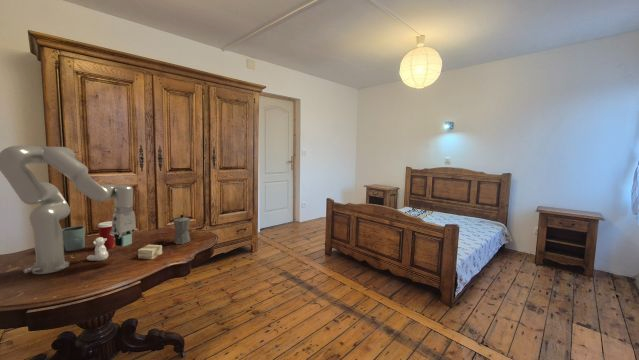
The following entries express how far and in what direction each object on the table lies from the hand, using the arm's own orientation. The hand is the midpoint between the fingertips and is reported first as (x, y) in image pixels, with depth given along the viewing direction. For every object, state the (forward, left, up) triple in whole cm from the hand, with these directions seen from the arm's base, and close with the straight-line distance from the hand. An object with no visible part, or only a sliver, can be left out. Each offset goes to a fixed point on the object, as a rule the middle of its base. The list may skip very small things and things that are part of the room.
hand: (123, 243), depth 137 cm
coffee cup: (+15, +26, -10) cm, 31 cm away
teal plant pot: (+10, +43, -10) cm, 45 cm away
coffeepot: (+34, -9, -10) cm, 36 cm away
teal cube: (0, 0, -1) cm, 1 cm away
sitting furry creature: (+1, +15, -10) cm, 18 cm away
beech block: (+10, -7, -10) cm, 16 cm away
